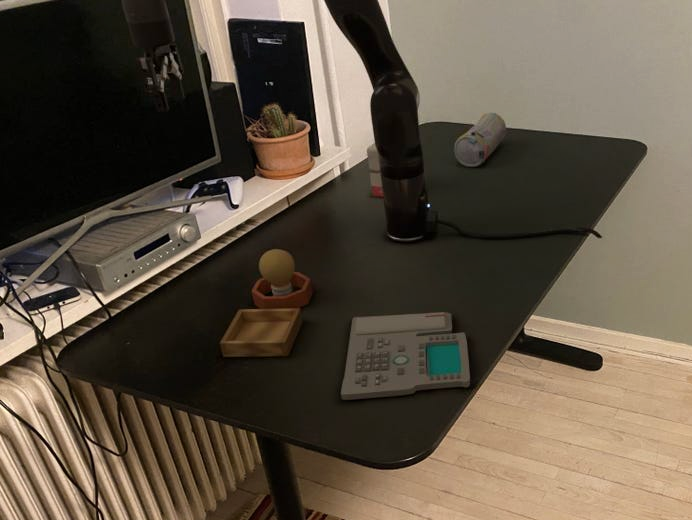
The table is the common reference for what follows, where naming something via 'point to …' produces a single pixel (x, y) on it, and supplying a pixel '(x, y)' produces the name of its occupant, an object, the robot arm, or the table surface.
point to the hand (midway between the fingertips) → (171, 105)
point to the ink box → (374, 170)
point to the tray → (261, 332)
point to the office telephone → (404, 356)
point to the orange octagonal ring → (283, 302)
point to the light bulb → (278, 271)
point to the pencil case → (480, 140)
